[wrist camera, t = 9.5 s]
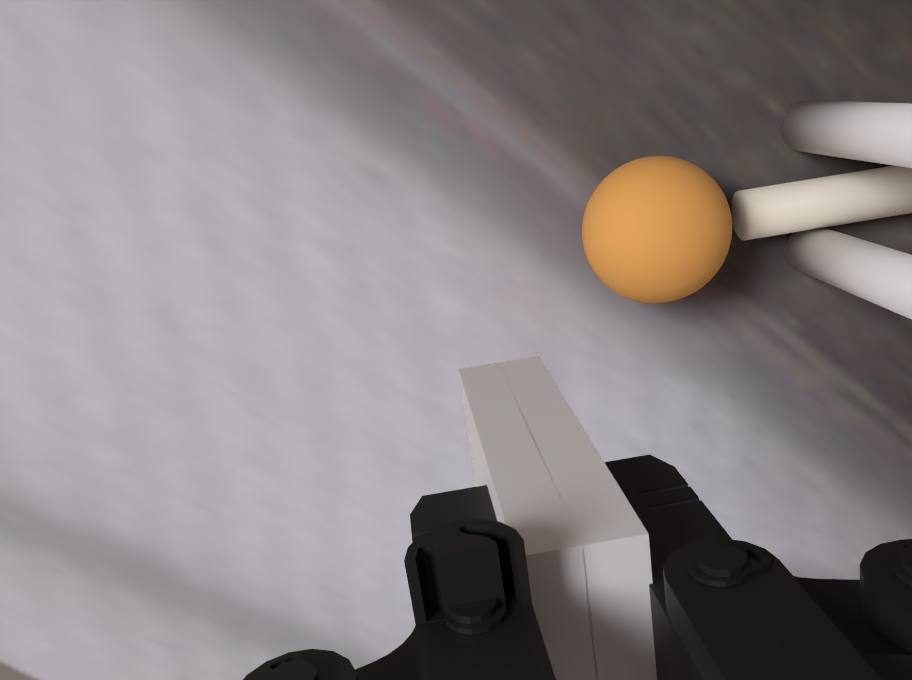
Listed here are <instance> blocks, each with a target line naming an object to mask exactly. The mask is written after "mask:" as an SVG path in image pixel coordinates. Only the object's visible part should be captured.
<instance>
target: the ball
mask: <svg viewBox="0 0 912 680" xmlns="http://www.w3.org/2000/svg"><path fill="white" fill-rule="evenodd" d="M731 237H732V216H731V211H730V208H729V205H728V202H727V199H726V197H725V195H724V193H723V191H722V190H721V188H720V187H719V185H718V184H717V183H716V181H715V180H714V179H713V178H712V177H711V176H710V175H709V174H707V173H706V172H705V171H704V170H703V169H701V168H700V167H698V166H696V165H694V164H693V163H690V162H688V161H686V160H683V159H679V158H675V157H669V156H650V157H644V158H639V159H636V160H633V161H630V162H628V163H626V164H624V165H622V166H620V167H618V168H617V169H616V170H614V171H613V172H611V173H610V174H609V175H608V176H607V177H606V178H605V179H604V180H603V181H602V182H601V183H600V184H599V185H598V187H597V188H596V190H595V191H594V192H593V194H592V196H591V198H590V200H589V202H588V204H587V207H586V210H585V213H584V218H583V225H582V239H583V245H584V249H585V253H586V256H587V259H588V261H589V263H590V265H591V267H592V269H593V270H594V272H595V273H596V274H597V276H598V277H599V278H600V279H601V280H602V281H603V282H604V283H605V284H606V285H607V286H608V287H609V288H611V289H612V290H613V291H615V292H617V293H618V294H620V295H622V296H624V297H626V298H629V299H632V300H635V301H639V302H646V303H666V302H670V301H675V300H679V299H681V298H684V297H686V296H688V295H691V294H692V293H694V292H696V291H697V290H699V289H700V288H702V287H703V286H704V285H706V284H707V283H708V282H709V281H710V280H711V279H712V278H713V277H714V275H715V274H716V273H717V272H718V270H719V269H720V267H721V266H722V264H723V262H724V260H725V258H726V256H727V253H728V250H729V247H730V243H731Z"/></svg>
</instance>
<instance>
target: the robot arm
mask: <svg viewBox="0 0 912 680" xmlns="http://www.w3.org/2000/svg"><path fill="white" fill-rule="evenodd" d="M459 376H460V383H461V390H462V396H463V403H464V410H465V417H466V423H467V430H468V437H469V444H470V451H471V457H472V464H473V471H474V478H475V484H476V487H472V488H466V489H461V490H455V491H449V492H443V493H437V494H431V495H426V496H422V497H421V499H420V500H419V502H418V503H417V505H416V506H415V508H414V510H413V511H412V513H411V514H410V519H411V531H412V542H413V543H412V544H411V545H410V546H409V547H408V549H407V553H406V556H405V560H404V562H405V567H406V573H407V578H408V584H409V590H410V595H411V601H412V606H413V612H414V617H415V623H416V626H415V628H414V630H413V632H412V634H411V635H410V636H409V637H408V638H407V639H406V641H405V642H404V643H403V644H402V645H401V646H399V647H398V648H397V649H395V650H394V651H393V652H391V653H390V654H388V655H386V656H384V657H382V658H380V659H378V660H376V661H375V662H373V663H370V664H368V665H365V666H363V667H360V668H358V669H356V670H355V669H354V668H353V666H352V664H351V662H350V661H349V659H347V658H345V657H343V656H341V655H339V654H337V653H336V652H334V651H327V650H318V649H309V650H302V651H296V652H289V653H287V654H284V655H282V656H279V657H277V658H274V659H272V660H269V661H267V662H265V663H264V664H262V665H261V666H259V667H258V668H257V669H255V670H254V671H252V672H251V673H249V674H248V675H247V676H246V677H245V678H244V679H243V680H912V539H906V540H898V541H893V542H888V543H883V544H880V545H878V546H876V547H874V548H873V549H871V550H869V551H867V552H866V553H865V555H864V557H863V559H862V561H861V563H860V580H839V579H812V578H800V577H794V576H793V575H792V574H791V573H790V572H789V571H788V570H787V568H786V567H785V566H784V565H783V564H782V563H781V561H780V560H779V559H778V558H776V557H775V556H774V555H772V554H771V553H770V552H768V551H767V550H766V549H764V548H761V547H759V546H756V545H753V544H751V543H748V542H745V541H737V540H732V539H731V537H730V536H729V535H728V534H727V532H726V531H725V530H724V528H723V527H722V526H721V525H720V523H719V522H718V521H717V520H716V518H715V517H714V516H713V515H712V513H711V512H710V511H709V510H708V508H707V507H706V506H705V505H704V503H703V502H702V501H699V498H698V496H697V495H696V493H695V492H694V491H693V490H692V488H691V487H688V483H687V482H686V481H685V479H684V478H683V477H682V476H681V474H680V473H679V472H678V471H677V469H676V468H675V467H674V466H672V465H670V464H668V463H666V462H664V461H662V460H660V459H658V458H655V457H653V456H651V455H645V456H639V457H633V458H627V459H621V460H616V461H610V462H604V461H603V459H602V458H601V456H600V454H599V453H598V451H597V450H596V448H595V446H594V445H593V443H592V442H591V440H590V438H589V437H588V435H587V433H586V432H585V430H584V429H583V427H582V425H581V424H580V422H579V421H578V419H577V417H576V416H575V414H574V412H573V411H572V409H571V408H570V406H569V404H568V403H567V401H566V400H565V398H564V396H563V395H562V393H561V391H560V390H559V388H558V387H557V385H556V383H555V382H554V380H553V378H552V377H551V375H550V374H549V372H548V370H547V369H546V367H545V366H544V364H543V362H542V361H541V359H540V357H539V356H537V357H531V358H525V359H519V360H513V361H507V362H501V363H495V364H488V365H482V366H476V367H470V368H464V369H459Z"/></svg>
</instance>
